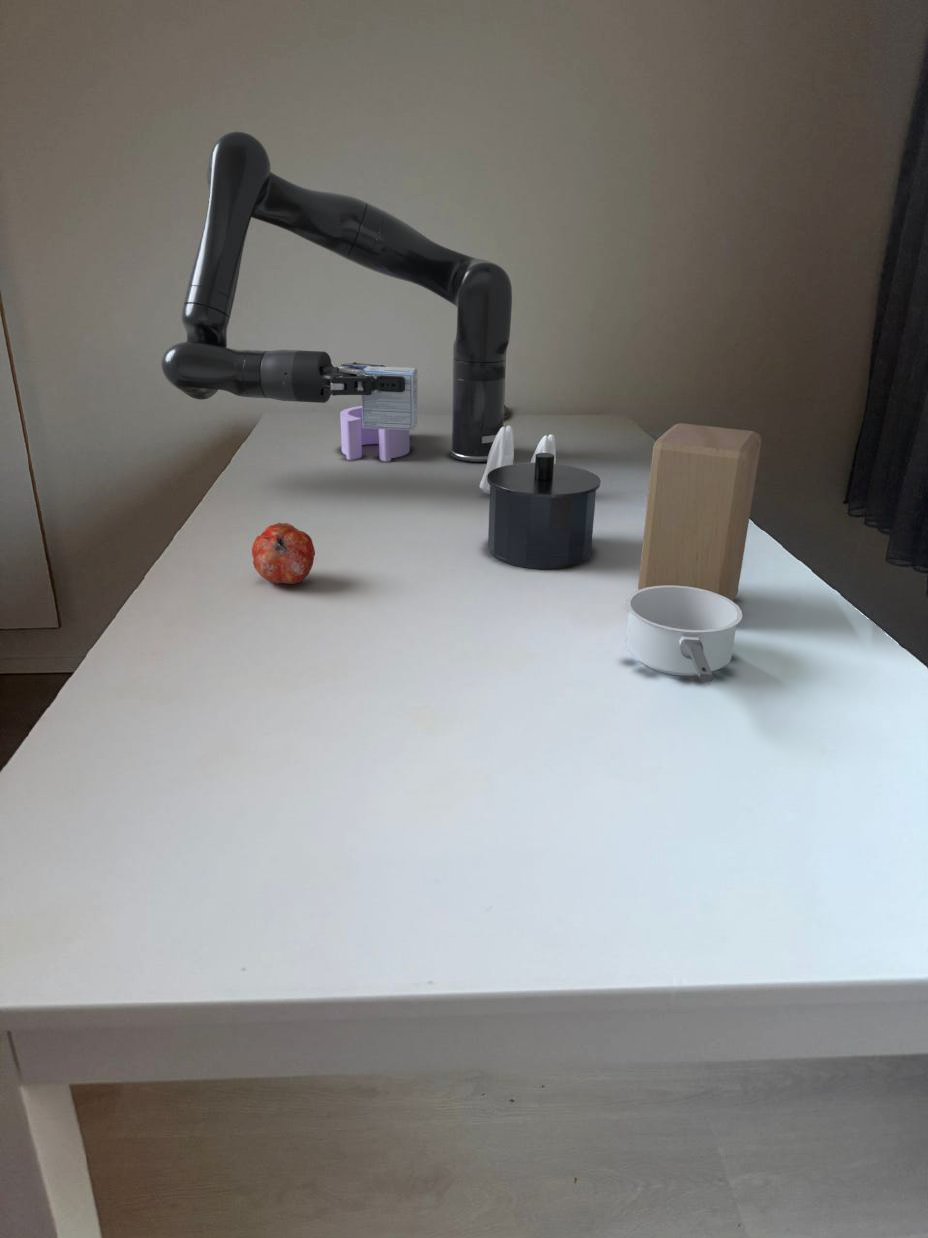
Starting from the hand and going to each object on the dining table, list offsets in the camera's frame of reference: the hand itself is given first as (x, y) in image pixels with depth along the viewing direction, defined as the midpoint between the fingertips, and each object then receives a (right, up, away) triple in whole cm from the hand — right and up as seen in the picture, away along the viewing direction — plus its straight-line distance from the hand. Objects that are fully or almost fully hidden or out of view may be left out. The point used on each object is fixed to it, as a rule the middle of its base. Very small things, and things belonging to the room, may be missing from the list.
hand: (407, 381), depth 135 cm
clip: (-8, -3, +35) cm, 36 cm away
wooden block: (+34, -34, -29) cm, 57 cm away
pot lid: (+19, -18, -18) cm, 31 cm away
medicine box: (-3, -6, +3) cm, 8 cm away
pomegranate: (-13, -31, -25) cm, 42 cm away
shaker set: (+17, -16, +8) cm, 25 cm away
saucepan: (+30, -41, -45) cm, 68 cm away
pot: (+19, -26, -14) cm, 35 cm away
